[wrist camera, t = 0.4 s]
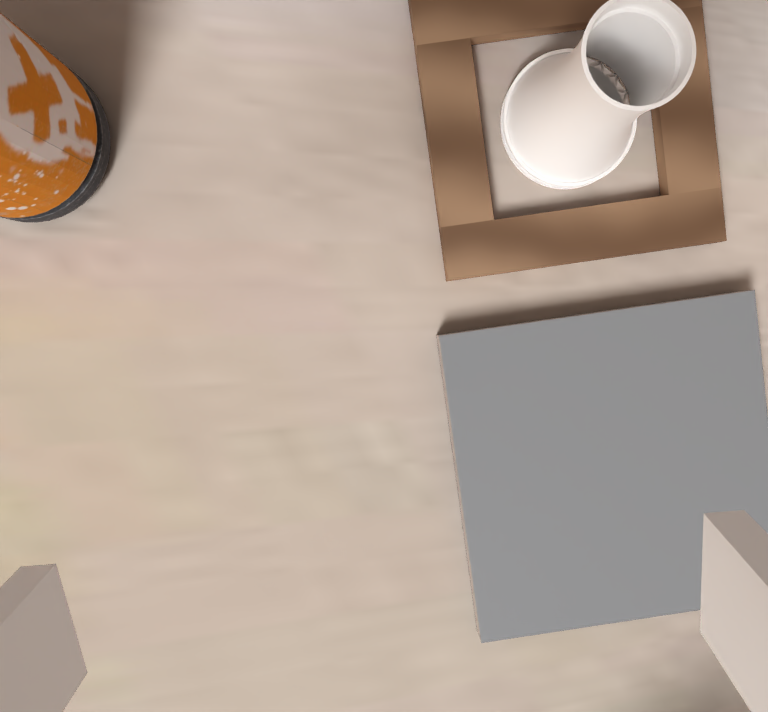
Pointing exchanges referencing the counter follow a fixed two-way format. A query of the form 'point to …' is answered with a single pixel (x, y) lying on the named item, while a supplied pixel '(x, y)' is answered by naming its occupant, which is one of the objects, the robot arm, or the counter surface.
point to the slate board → (602, 457)
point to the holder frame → (564, 227)
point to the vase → (596, 92)
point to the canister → (46, 132)
